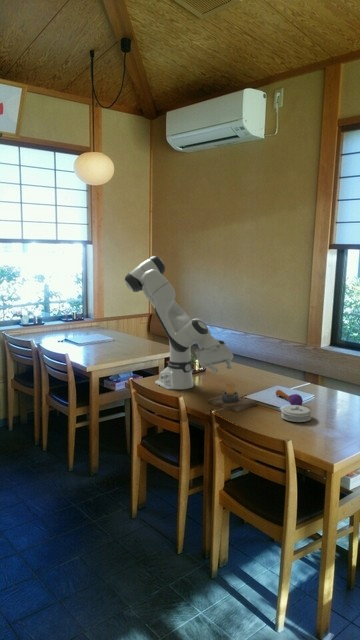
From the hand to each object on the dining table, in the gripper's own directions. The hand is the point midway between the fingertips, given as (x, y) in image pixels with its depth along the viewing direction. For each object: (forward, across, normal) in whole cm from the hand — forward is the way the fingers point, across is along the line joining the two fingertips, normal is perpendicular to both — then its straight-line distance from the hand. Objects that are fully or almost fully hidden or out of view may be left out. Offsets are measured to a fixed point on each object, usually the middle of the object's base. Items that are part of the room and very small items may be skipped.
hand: (223, 370), depth 222 cm
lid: (+38, +6, -16) cm, 42 cm away
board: (+15, 0, +6) cm, 16 cm away
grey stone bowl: (+13, 0, +6) cm, 15 cm away
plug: (+13, 0, +6) cm, 15 cm away
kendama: (+26, +22, -5) cm, 35 cm away
